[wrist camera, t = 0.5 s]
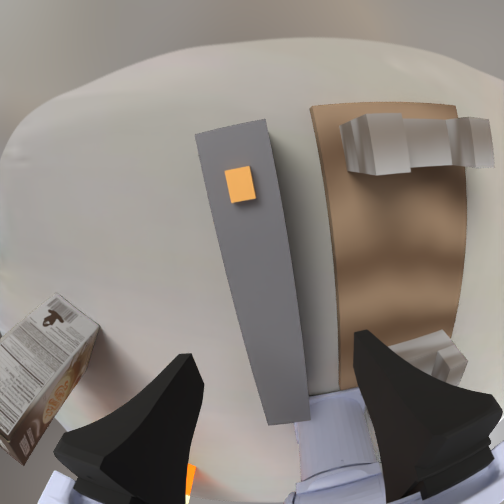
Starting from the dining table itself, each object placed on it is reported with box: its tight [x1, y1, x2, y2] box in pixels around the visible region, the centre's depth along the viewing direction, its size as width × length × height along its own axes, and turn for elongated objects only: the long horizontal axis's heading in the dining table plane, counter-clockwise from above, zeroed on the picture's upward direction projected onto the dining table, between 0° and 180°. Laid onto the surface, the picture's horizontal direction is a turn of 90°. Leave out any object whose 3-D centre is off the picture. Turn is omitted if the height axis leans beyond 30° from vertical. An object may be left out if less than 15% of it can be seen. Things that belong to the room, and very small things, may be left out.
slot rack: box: [310, 102, 495, 417], centre depth 16 cm, size 24×12×6 cm, turn 11°
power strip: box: [195, 119, 311, 425], centre depth 18 cm, size 22×4×6 cm, turn 11°
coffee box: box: [0, 293, 99, 466], centre depth 16 cm, size 9×6×16 cm
